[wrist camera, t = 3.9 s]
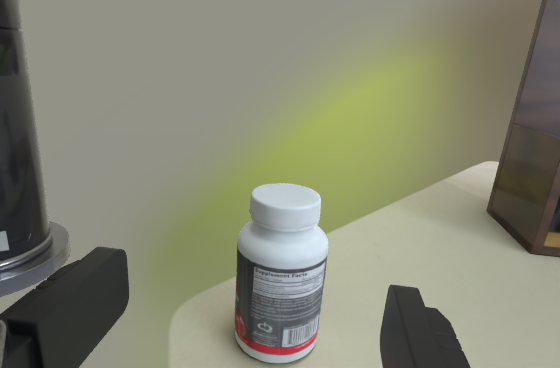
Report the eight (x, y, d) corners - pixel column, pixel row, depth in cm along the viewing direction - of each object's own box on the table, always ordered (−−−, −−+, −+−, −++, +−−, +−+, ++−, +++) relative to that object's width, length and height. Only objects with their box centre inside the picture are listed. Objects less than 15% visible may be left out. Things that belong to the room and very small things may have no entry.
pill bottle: (238, 306, 27) (243, 176, 24) (313, 311, 27) (328, 181, 24) (228, 364, 22) (234, 209, 19) (321, 370, 22) (341, 216, 19)
